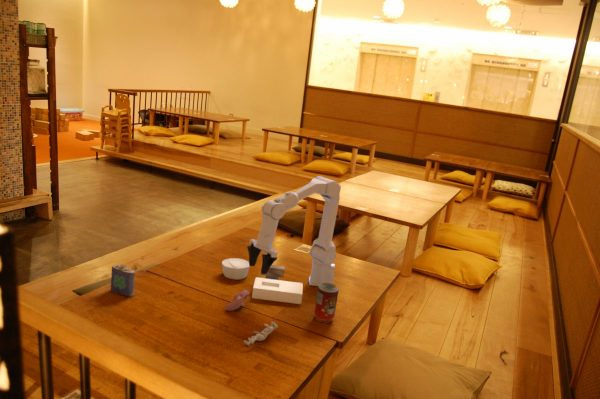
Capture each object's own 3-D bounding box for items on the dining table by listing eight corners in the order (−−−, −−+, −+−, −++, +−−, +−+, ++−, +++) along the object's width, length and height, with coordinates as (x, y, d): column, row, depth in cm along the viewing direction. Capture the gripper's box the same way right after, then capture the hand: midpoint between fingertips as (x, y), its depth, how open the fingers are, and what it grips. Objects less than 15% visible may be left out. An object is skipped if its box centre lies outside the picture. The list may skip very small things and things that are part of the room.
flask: (135, 295, 162) (136, 266, 160) (129, 298, 160) (130, 268, 157) (114, 288, 166) (115, 259, 163) (107, 291, 163) (108, 262, 160)
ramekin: (215, 276, 187) (216, 263, 186) (229, 267, 198) (231, 255, 196) (240, 283, 184) (241, 270, 182) (253, 274, 194) (255, 262, 193)
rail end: (282, 281, 191) (284, 266, 189) (282, 284, 187) (284, 269, 186) (260, 278, 190) (262, 263, 189) (259, 281, 187) (261, 266, 186)
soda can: (323, 325, 159) (329, 291, 156) (309, 316, 164) (314, 283, 161) (338, 320, 164) (343, 287, 161) (323, 312, 169) (328, 280, 166)
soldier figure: (238, 343, 143) (261, 319, 152) (248, 356, 143) (270, 330, 152) (251, 336, 138) (274, 311, 147) (262, 349, 138) (284, 323, 147)
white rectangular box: (301, 292, 182) (302, 283, 181) (301, 304, 173) (302, 294, 172) (254, 286, 182) (255, 277, 181) (251, 298, 172) (253, 287, 171)
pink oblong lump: (234, 317, 160) (245, 302, 158) (223, 309, 160) (234, 294, 158) (243, 305, 169) (254, 290, 167) (233, 297, 170) (243, 283, 168)
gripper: (246, 226, 173) (237, 262, 174) (270, 239, 162) (260, 277, 163) (262, 228, 177) (253, 262, 179) (285, 240, 167) (275, 277, 168)
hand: (257, 269), depth 171 cm, fingers open, 7 cm apart
